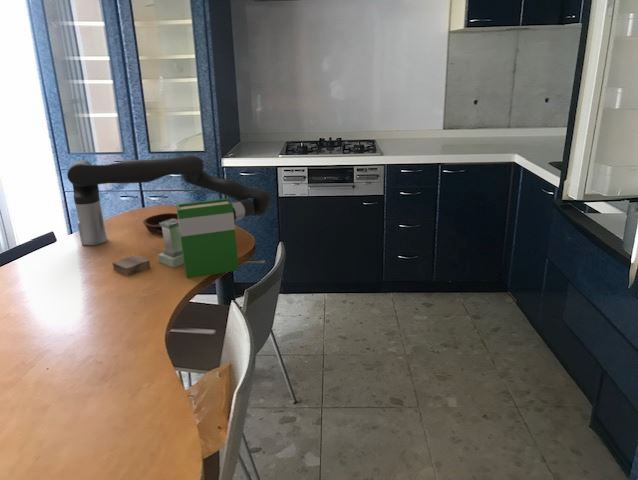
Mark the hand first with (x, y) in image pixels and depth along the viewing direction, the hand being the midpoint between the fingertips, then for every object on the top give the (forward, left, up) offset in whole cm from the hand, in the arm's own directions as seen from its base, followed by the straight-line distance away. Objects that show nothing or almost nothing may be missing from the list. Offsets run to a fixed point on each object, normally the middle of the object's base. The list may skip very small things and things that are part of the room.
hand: (197, 223), depth 189 cm
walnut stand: (-23, -10, -11) cm, 28 cm away
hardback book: (+5, -18, -12) cm, 22 cm away
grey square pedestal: (-8, -6, -8) cm, 13 cm away
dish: (-16, +33, -12) cm, 38 cm away
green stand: (-8, -6, -11) cm, 16 cm away
